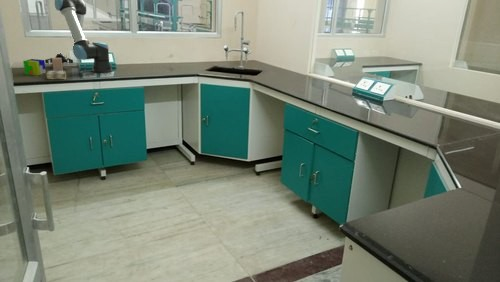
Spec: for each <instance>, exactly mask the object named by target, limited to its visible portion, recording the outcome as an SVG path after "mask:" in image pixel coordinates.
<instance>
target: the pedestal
mask: <svg viewBox="0 0 500 282" xmlns="http://www.w3.org/2000/svg"><path fill="white" fill-rule="evenodd" d="M45 74H46V80H47V79H64V80H67V70H63V71H53V70H47V71H46V73H45Z"/></svg>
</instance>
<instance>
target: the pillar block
mask: <svg viewBox="0 0 500 282" xmlns="http://www.w3.org/2000/svg"><path fill="white" fill-rule="evenodd" d="M51 58H52V63H51V64H52V69H53V70H52V71H64V69H63V68H64V67H63V63H62V58H55V57H51Z"/></svg>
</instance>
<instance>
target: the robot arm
mask: <svg viewBox="0 0 500 282" xmlns="http://www.w3.org/2000/svg"><path fill="white" fill-rule="evenodd" d="M54 8H55V9H56V11H59V12H60V14H61V15H62V16H64V18H65V21H66V24H67V26H68V30H69V31H70V35H71V34H72V37H73V39H74V42H75V43H74V46H73V49H72V52H73V53H72V54H73V55H74V57H75V58H76V59H77V60H80V61H82V60H83V61H85V60H93V64H92V72H93V73H110V72H113V68H112V65H111V62H110V55H109V54H110V52H109V50H110V49H109V45H108V44H107V43H106V42H99V41H92V43H90V41H89V40H88V39H87V38H86V36H85V34H84V32H83V25H84V19H85V15H87V6H86V2H85V1H84V0H54ZM52 58H53V57H50V58H46V59H44V62H45V64H48V65H49V66H50V65H51V64H53V63H52ZM54 58H62V64H64V63H67V65H70V64H74V60H73V59H72V58H69V57H68V58H67V56H66V57H65V55H63V54H61V53H60V54H57V55H55V56H54Z"/></svg>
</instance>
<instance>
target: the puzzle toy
mask: <svg viewBox="0 0 500 282" xmlns="http://www.w3.org/2000/svg"><path fill="white" fill-rule="evenodd" d="M23 67H24V73H25V75H31V76H39V75H40V76H41V75H43V73H44V74H47V71H46V63H45V59H38V58H37V59H36V58H31V59H25V60H23Z"/></svg>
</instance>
